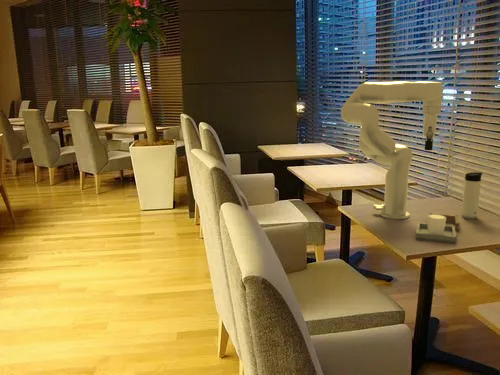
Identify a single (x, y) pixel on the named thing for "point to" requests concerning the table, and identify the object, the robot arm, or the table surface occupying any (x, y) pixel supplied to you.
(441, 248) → the table surface
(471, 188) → the travel mug
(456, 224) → the walnut holder
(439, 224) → the white piece
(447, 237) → the serving tray
